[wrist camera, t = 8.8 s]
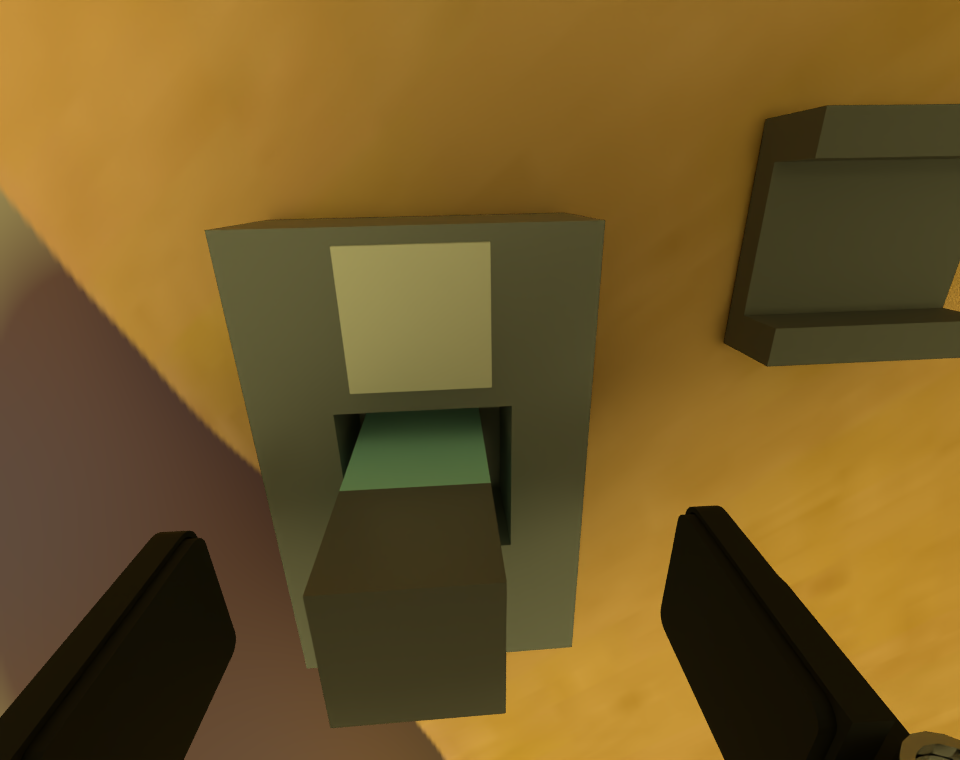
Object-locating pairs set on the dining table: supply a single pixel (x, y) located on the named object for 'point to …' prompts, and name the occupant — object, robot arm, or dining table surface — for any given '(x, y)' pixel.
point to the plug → (411, 576)
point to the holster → (851, 238)
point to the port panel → (423, 373)
